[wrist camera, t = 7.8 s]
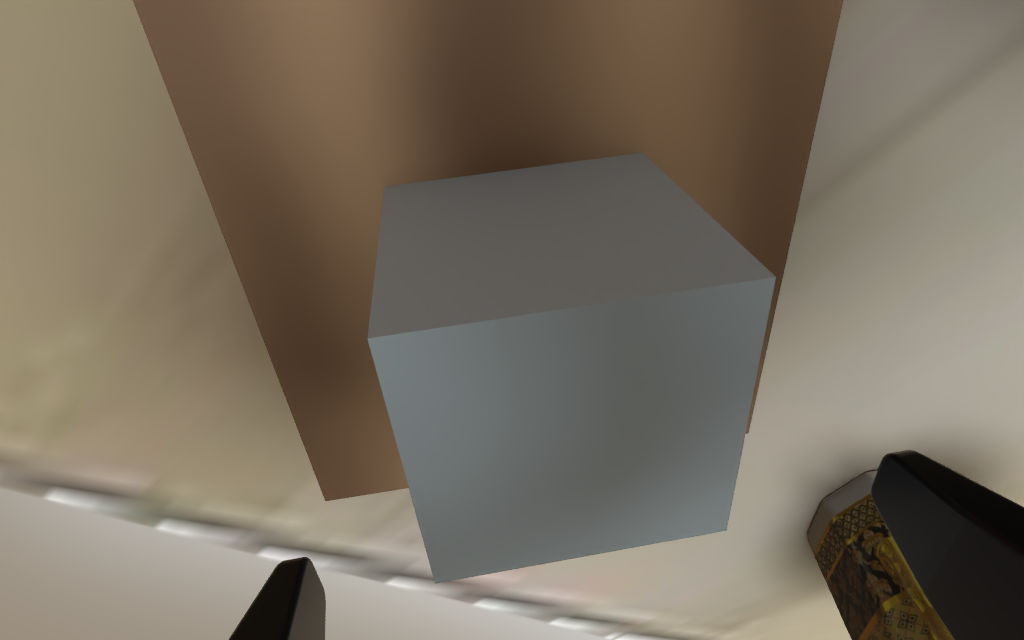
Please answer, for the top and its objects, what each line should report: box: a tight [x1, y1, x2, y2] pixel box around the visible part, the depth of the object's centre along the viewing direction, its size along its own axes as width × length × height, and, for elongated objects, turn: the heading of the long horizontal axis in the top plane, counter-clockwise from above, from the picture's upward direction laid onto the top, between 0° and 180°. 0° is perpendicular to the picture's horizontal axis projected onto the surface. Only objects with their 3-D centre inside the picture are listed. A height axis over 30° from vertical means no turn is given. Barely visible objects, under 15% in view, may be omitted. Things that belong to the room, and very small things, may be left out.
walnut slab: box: [133, 0, 843, 501], centre depth 17 cm, size 14×14×4 cm
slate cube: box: [367, 153, 776, 583], centre depth 12 cm, size 6×6×6 cm
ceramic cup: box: [808, 471, 954, 640], centre depth 24 cm, size 13×10×10 cm
